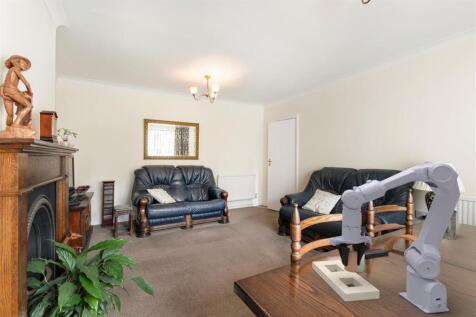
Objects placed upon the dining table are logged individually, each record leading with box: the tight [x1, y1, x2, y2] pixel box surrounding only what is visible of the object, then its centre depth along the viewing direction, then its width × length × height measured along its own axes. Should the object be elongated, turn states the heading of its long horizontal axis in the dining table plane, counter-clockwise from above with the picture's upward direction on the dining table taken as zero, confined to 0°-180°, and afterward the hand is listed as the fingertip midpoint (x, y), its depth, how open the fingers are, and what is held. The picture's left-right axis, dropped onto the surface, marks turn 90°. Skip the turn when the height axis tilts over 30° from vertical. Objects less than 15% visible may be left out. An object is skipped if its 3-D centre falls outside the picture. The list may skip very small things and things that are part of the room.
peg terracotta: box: [344, 248, 357, 273], centre depth 78 cm, size 4×4×6 cm
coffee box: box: [443, 209, 458, 241], centre depth 132 cm, size 9×6×16 cm
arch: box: [383, 234, 419, 252], centre depth 103 cm, size 6×20×10 cm, turn 26°
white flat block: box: [311, 259, 380, 303], centre depth 83 cm, size 22×12×2 cm, turn 9°
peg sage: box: [356, 254, 365, 273], centre depth 92 cm, size 4×4×6 cm
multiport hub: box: [364, 248, 390, 261], centre depth 105 cm, size 4×14×2 cm, turn 107°
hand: (350, 264), depth 78 cm, fingers closed on peg terracotta, 4 cm apart
